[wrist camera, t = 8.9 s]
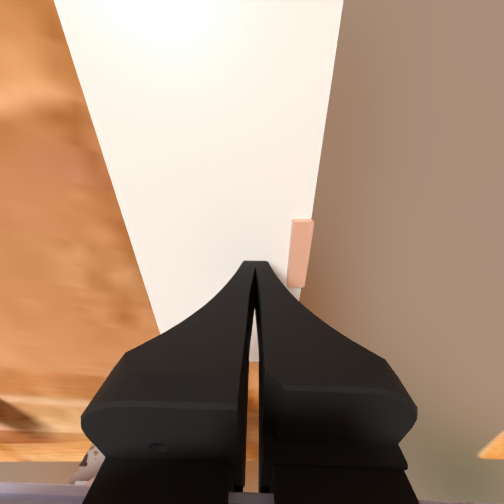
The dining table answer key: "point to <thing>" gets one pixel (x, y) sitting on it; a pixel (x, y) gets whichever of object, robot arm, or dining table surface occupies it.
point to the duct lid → (208, 133)
